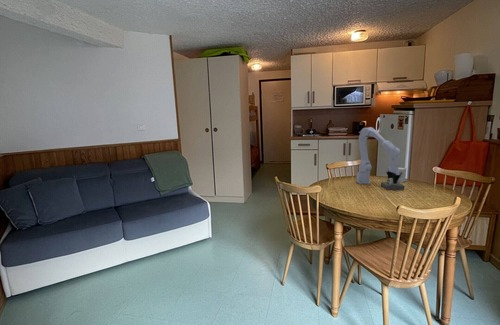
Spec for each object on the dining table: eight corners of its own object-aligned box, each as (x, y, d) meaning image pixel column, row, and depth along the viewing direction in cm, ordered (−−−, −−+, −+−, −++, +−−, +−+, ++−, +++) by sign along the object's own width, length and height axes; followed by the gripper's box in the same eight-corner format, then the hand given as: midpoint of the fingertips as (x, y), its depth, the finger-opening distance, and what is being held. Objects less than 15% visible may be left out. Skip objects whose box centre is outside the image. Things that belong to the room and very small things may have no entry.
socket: (387, 189, 196) (387, 185, 196) (380, 185, 207) (381, 182, 206) (404, 189, 195) (404, 185, 195) (397, 185, 206) (397, 181, 206)
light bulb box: (388, 180, 223) (389, 167, 221) (391, 178, 227) (392, 166, 225) (402, 182, 215) (403, 169, 213) (405, 181, 219) (406, 168, 217)
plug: (387, 187, 200) (388, 179, 199) (385, 185, 203) (386, 178, 202) (396, 187, 199) (397, 179, 198) (394, 185, 203) (395, 178, 202)
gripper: (404, 166, 191) (403, 184, 193) (395, 162, 205) (393, 179, 207) (394, 166, 191) (392, 184, 194) (385, 162, 205) (384, 180, 208)
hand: (392, 182), depth 201 cm, fingers open, 7 cm apart
